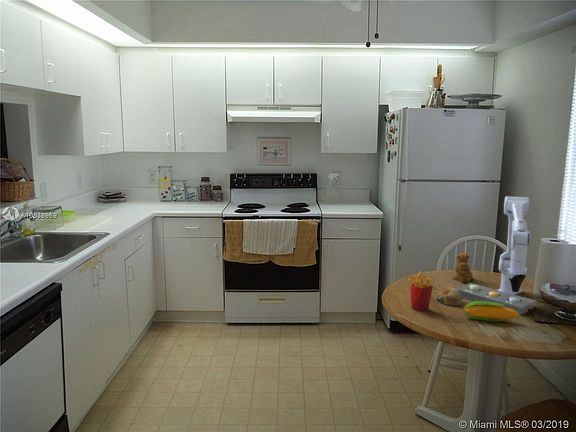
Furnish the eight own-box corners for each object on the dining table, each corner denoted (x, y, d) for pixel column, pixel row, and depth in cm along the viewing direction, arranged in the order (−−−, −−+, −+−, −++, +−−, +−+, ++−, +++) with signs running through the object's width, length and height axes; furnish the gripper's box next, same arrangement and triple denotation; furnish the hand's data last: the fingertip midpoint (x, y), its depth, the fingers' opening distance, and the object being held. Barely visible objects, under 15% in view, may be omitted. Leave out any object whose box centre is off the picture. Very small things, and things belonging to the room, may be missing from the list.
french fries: (431, 309, 194) (434, 274, 192) (419, 313, 190) (421, 277, 187) (414, 303, 201) (416, 269, 199) (401, 307, 196) (403, 272, 194)
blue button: (511, 303, 201) (512, 296, 201) (520, 305, 198) (521, 298, 198) (506, 305, 199) (507, 298, 198) (516, 307, 196) (517, 300, 195)
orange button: (491, 297, 208) (491, 290, 207) (500, 299, 205) (500, 293, 204) (486, 299, 205) (487, 292, 205) (495, 301, 202) (496, 295, 202)
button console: (469, 289, 221) (470, 282, 221) (535, 307, 198) (536, 300, 198) (453, 295, 212) (453, 288, 212) (520, 315, 190) (521, 307, 189)
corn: (463, 296, 188) (517, 300, 184) (462, 313, 190) (515, 318, 186) (466, 303, 181) (522, 308, 177) (464, 321, 183) (520, 326, 179)
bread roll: (457, 314, 199) (467, 299, 197) (435, 303, 200) (445, 287, 198) (454, 306, 208) (463, 291, 207) (433, 295, 210) (442, 280, 208)
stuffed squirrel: (471, 276, 241) (473, 251, 239) (475, 285, 228) (477, 258, 225) (450, 275, 243) (452, 250, 241) (453, 283, 230) (455, 257, 228)
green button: (472, 290, 215) (472, 284, 214) (480, 292, 212) (481, 286, 211) (467, 292, 212) (468, 285, 212) (475, 294, 209) (476, 287, 209)
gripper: (516, 255, 203) (513, 285, 205) (500, 260, 193) (497, 292, 196) (533, 258, 197) (530, 290, 200) (518, 264, 188) (514, 297, 190)
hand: (515, 291), depth 197 cm, fingers closed
